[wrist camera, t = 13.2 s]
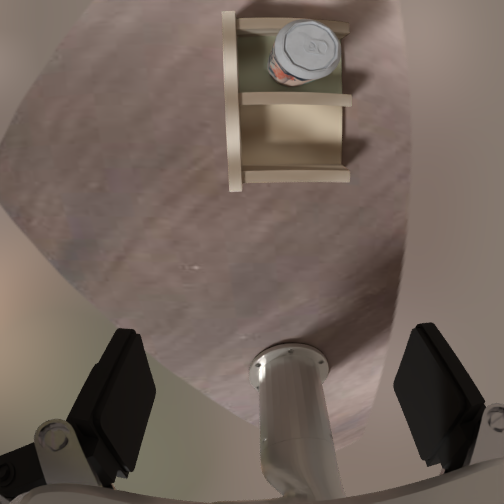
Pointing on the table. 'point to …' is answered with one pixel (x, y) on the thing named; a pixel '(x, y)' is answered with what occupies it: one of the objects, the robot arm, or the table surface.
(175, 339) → the table surface
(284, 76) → the beer can
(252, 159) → the comb rack
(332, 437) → the robot arm
